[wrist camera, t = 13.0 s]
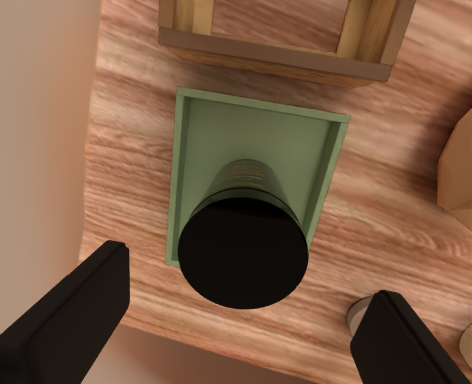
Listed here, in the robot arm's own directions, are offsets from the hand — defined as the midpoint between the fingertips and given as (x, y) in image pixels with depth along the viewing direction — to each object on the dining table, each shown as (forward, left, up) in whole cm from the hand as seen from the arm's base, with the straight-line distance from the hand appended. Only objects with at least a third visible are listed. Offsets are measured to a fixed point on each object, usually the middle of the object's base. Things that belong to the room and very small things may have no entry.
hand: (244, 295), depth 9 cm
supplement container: (0, 0, -14) cm, 14 cm away
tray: (+1, 0, -14) cm, 14 cm away
